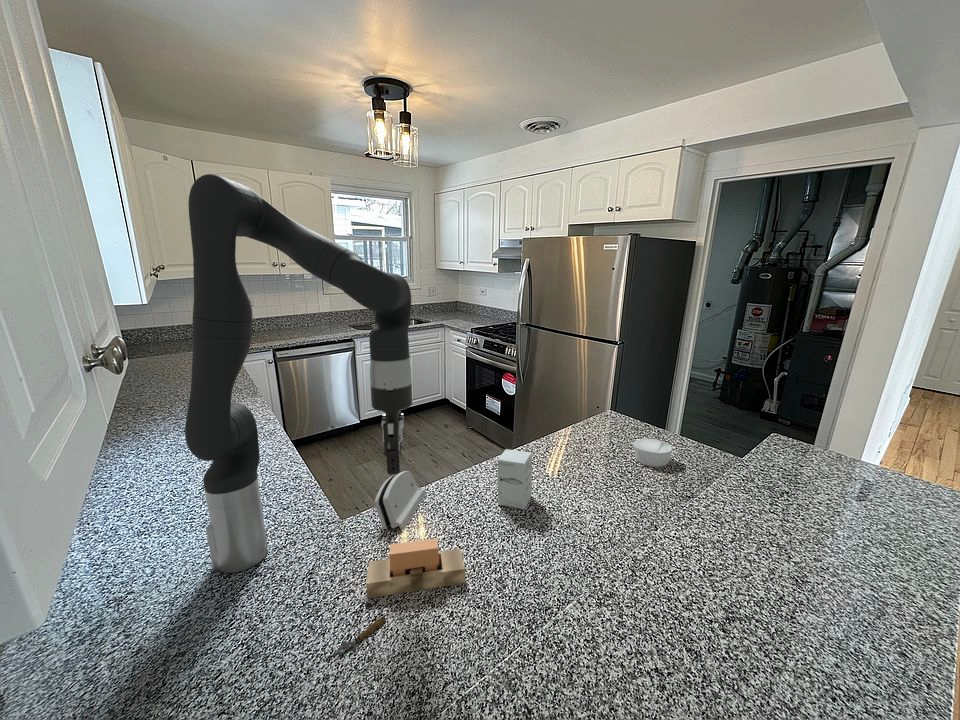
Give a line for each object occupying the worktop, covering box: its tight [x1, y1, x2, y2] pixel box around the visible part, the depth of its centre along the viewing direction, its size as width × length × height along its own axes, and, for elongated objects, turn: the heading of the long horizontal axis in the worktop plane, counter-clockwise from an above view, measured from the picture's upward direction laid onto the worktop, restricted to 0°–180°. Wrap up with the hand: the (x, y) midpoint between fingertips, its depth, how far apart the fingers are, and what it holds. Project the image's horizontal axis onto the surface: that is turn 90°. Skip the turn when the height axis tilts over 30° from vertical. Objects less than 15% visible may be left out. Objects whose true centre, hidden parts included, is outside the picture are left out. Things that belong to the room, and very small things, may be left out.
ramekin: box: [632, 438, 673, 468], centre depth 123 cm, size 11×11×5 cm
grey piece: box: [374, 470, 427, 532], centre depth 99 cm, size 17×5×10 cm, turn 169°
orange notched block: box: [388, 537, 439, 577], centre depth 75 cm, size 9×3×7 cm, turn 100°
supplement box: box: [497, 448, 533, 510], centre depth 101 cm, size 7×7×13 cm
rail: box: [365, 548, 466, 599], centre depth 75 cm, size 18×6×3 cm, turn 101°
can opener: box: [333, 615, 387, 657], centre depth 63 cm, size 9×2×1 cm, turn 134°
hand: (394, 463), depth 76 cm, fingers open, 8 cm apart
